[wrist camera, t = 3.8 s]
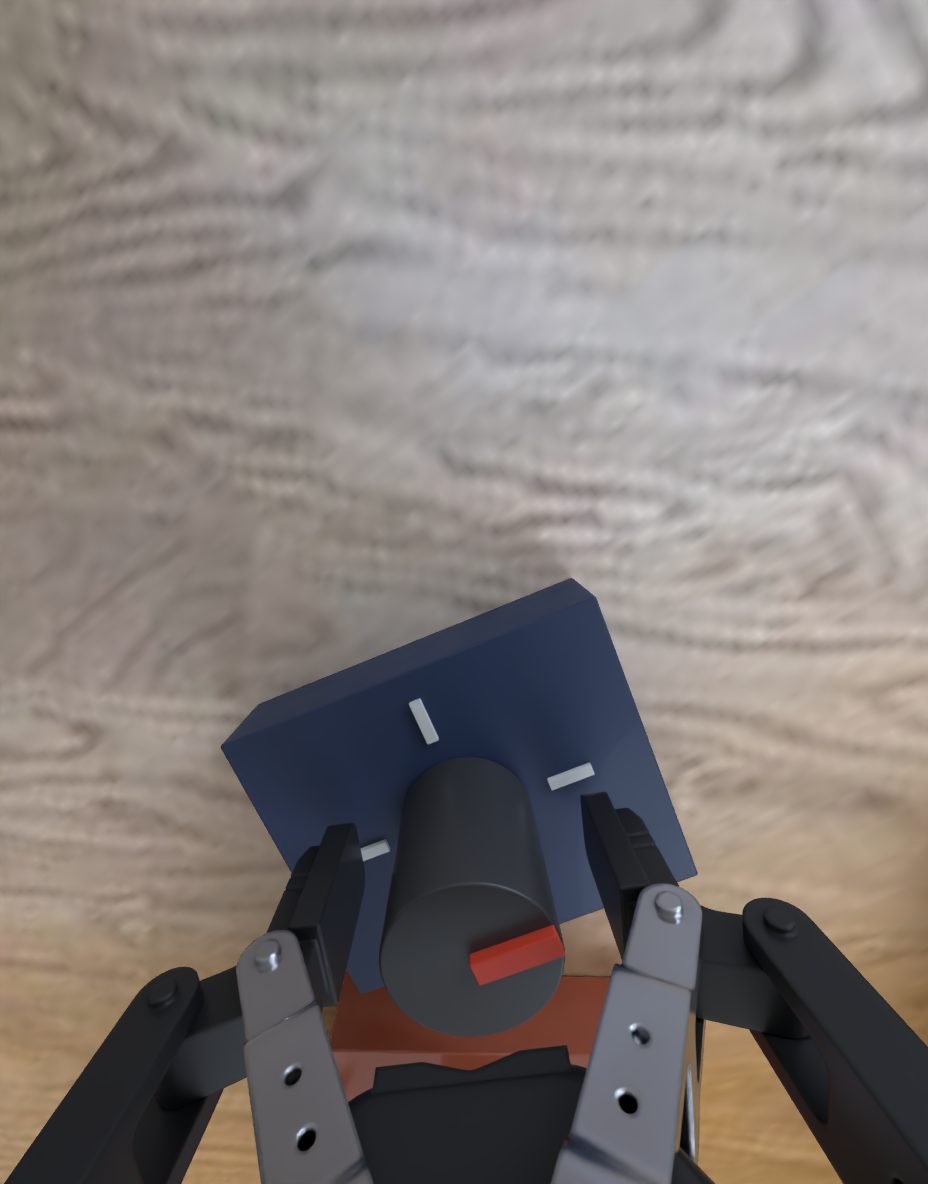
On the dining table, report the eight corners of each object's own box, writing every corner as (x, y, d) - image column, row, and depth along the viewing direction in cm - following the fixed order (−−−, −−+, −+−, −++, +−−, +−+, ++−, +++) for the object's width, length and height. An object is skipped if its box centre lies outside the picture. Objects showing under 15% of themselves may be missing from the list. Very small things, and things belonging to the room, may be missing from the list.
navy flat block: (374, 920, 20) (359, 1000, 17) (257, 704, 18) (216, 749, 15) (662, 815, 19) (701, 879, 16) (572, 577, 17) (597, 597, 14)
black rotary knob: (433, 887, 16) (422, 1076, 11) (382, 783, 15) (343, 934, 10) (550, 844, 16) (595, 1017, 11) (504, 736, 15) (527, 868, 10)
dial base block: (346, 1153, 23) (329, 1259, 20) (345, 969, 21) (325, 1055, 17) (613, 1158, 23) (638, 1263, 20) (639, 976, 21) (670, 1062, 18)
